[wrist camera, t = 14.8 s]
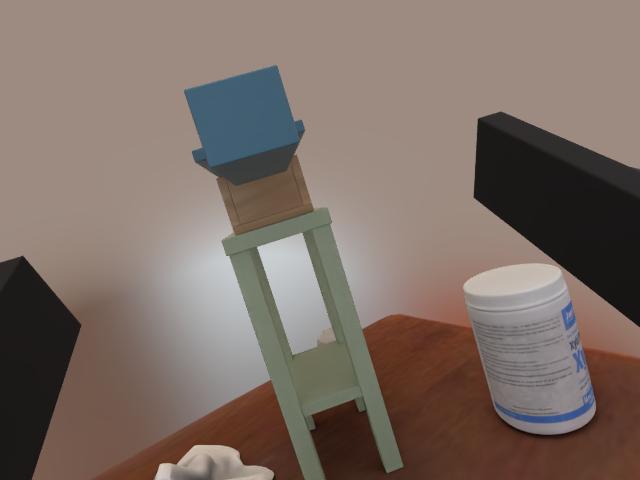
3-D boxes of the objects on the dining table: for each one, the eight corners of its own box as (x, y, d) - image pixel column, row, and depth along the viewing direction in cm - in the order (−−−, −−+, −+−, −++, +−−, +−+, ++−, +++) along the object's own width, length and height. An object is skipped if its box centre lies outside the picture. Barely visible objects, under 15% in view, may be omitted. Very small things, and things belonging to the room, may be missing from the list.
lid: (349, 127, 15) (326, 50, 15) (157, 183, 14) (128, 103, 14) (299, 177, 39) (291, 148, 39) (226, 199, 38) (217, 170, 38)
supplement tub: (620, 428, 35) (586, 277, 34) (514, 448, 37) (476, 304, 35) (566, 375, 45) (537, 255, 43) (483, 393, 46) (452, 278, 45)
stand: (406, 467, 39) (327, 207, 35) (310, 505, 38) (221, 240, 34) (370, 399, 52) (311, 207, 49) (299, 425, 51) (234, 231, 48)
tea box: (314, 211, 36) (296, 154, 36) (235, 235, 35) (215, 178, 35) (302, 210, 48) (289, 168, 48) (243, 228, 48) (229, 186, 47)
